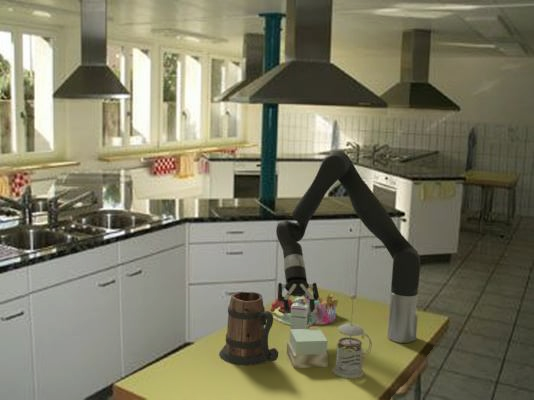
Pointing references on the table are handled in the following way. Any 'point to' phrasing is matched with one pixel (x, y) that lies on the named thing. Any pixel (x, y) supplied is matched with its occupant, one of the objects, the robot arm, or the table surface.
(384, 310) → the table surface
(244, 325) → the tankard
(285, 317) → the candy dessert plate
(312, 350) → the tower top block
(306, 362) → the tower bottom block
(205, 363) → the table surface
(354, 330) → the french press
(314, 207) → the robot arm
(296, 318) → the syrup box
